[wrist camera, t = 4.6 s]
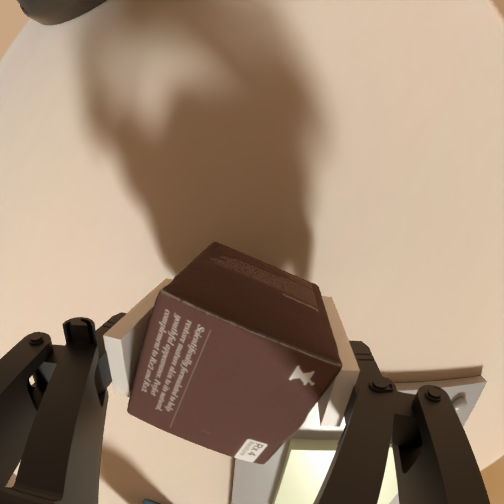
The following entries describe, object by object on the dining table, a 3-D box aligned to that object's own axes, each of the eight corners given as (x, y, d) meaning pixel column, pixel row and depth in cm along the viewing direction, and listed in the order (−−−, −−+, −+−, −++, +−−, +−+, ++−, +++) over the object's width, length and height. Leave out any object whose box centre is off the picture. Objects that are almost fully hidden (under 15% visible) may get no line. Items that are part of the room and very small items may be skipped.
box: (214, 237, 15) (157, 283, 8) (322, 284, 15) (350, 364, 8) (178, 331, 17) (122, 413, 9) (272, 372, 17) (264, 469, 9)
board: (244, 375, 19) (239, 394, 17) (481, 375, 17) (493, 389, 15) (230, 513, 24) (228, 527, 21) (393, 510, 22) (396, 523, 20)
